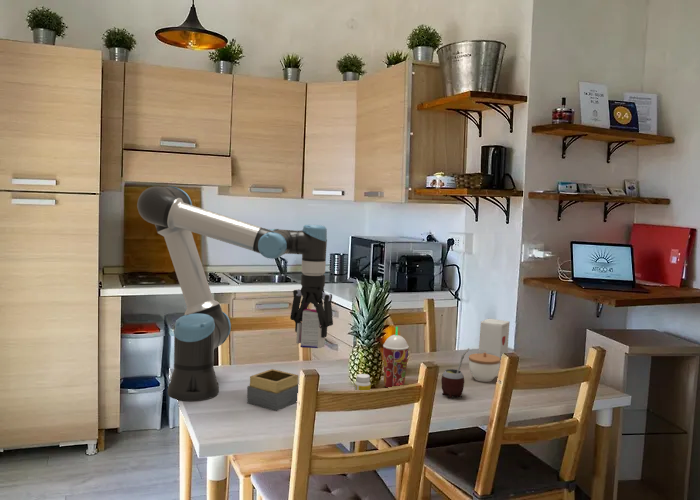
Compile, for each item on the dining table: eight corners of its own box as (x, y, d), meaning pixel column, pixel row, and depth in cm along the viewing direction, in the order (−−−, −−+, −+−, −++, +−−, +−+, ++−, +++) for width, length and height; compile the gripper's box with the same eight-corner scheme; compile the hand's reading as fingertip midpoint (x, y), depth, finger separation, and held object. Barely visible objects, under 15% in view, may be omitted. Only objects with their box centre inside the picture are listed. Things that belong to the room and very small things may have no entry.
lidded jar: (464, 380, 216) (466, 354, 215) (471, 373, 226) (472, 347, 225) (496, 385, 212) (498, 358, 211) (501, 377, 222) (503, 351, 221)
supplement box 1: (318, 348, 198) (320, 312, 197) (300, 347, 198) (301, 311, 197) (320, 344, 204) (321, 309, 202) (301, 343, 204) (303, 308, 203)
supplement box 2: (499, 363, 241) (502, 324, 239) (477, 359, 245) (479, 321, 244) (507, 358, 248) (510, 321, 247) (486, 354, 253) (488, 317, 252)
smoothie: (407, 391, 202) (410, 330, 200) (381, 390, 202) (384, 328, 200) (405, 383, 210) (408, 324, 208) (380, 382, 210) (383, 323, 208)
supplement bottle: (373, 403, 189) (374, 376, 188) (362, 406, 186) (363, 378, 185) (361, 399, 192) (362, 372, 192) (350, 402, 189) (351, 375, 188)
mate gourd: (438, 397, 197) (440, 350, 195) (444, 390, 204) (446, 345, 203) (462, 401, 194) (464, 353, 193) (467, 394, 201) (469, 348, 200)
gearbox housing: (247, 402, 185) (247, 376, 184) (271, 393, 194) (271, 368, 194) (276, 411, 179) (277, 383, 178) (299, 401, 188) (300, 375, 188)
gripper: (347, 276, 196) (343, 348, 198) (294, 269, 207) (292, 337, 209) (333, 278, 190) (330, 352, 192) (280, 271, 201) (277, 341, 203)
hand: (310, 344), depth 201 cm, fingers closed on supplement box 1, 8 cm apart
